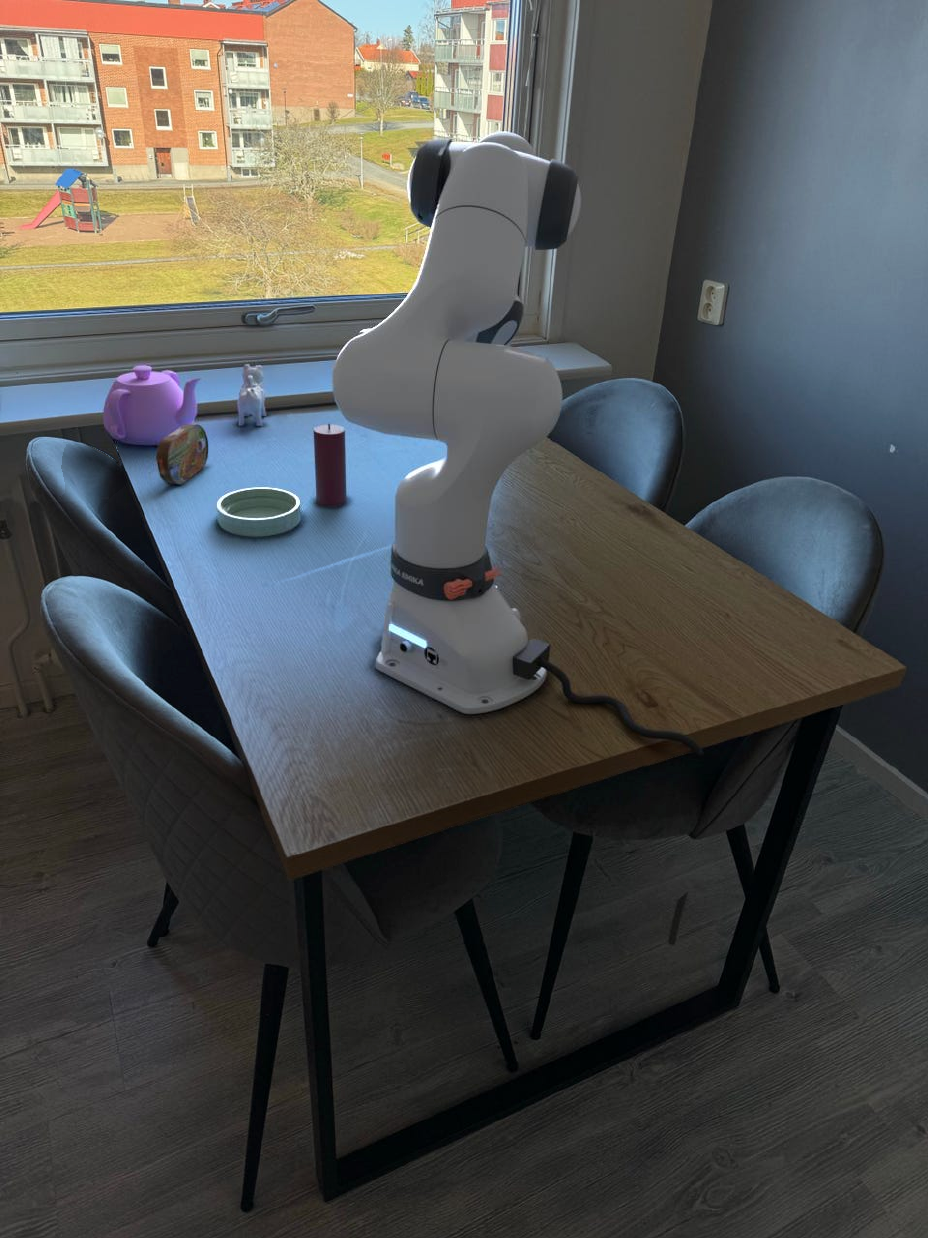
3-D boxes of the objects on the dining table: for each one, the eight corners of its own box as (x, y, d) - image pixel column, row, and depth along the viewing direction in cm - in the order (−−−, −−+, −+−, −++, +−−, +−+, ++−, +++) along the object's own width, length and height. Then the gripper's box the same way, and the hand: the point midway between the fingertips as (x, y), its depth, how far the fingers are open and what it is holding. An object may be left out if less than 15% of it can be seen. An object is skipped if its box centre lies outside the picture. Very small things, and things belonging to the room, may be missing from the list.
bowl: (316, 525, 144) (315, 507, 143) (243, 545, 137) (242, 526, 135) (274, 498, 153) (273, 481, 151) (204, 516, 145) (202, 498, 143)
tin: (173, 491, 153) (167, 445, 149) (157, 489, 154) (150, 443, 149) (211, 462, 166) (207, 418, 162) (196, 460, 166) (191, 416, 162)
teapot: (175, 464, 164) (166, 391, 157) (78, 446, 170) (65, 374, 163) (238, 429, 182) (232, 362, 175) (148, 414, 188) (139, 348, 181)
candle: (352, 502, 153) (351, 425, 146) (327, 509, 150) (324, 431, 143) (335, 493, 156) (333, 416, 149) (310, 499, 153) (307, 422, 146)
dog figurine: (268, 409, 195) (265, 360, 189) (263, 427, 184) (260, 376, 179) (243, 408, 194) (240, 360, 189) (237, 427, 183) (233, 376, 178)
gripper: (397, 315, 158) (332, 324, 150) (472, 339, 145) (405, 350, 137) (396, 351, 161) (333, 361, 153) (470, 377, 148) (405, 390, 140)
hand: (368, 356), depth 145 cm, fingers open, 8 cm apart
